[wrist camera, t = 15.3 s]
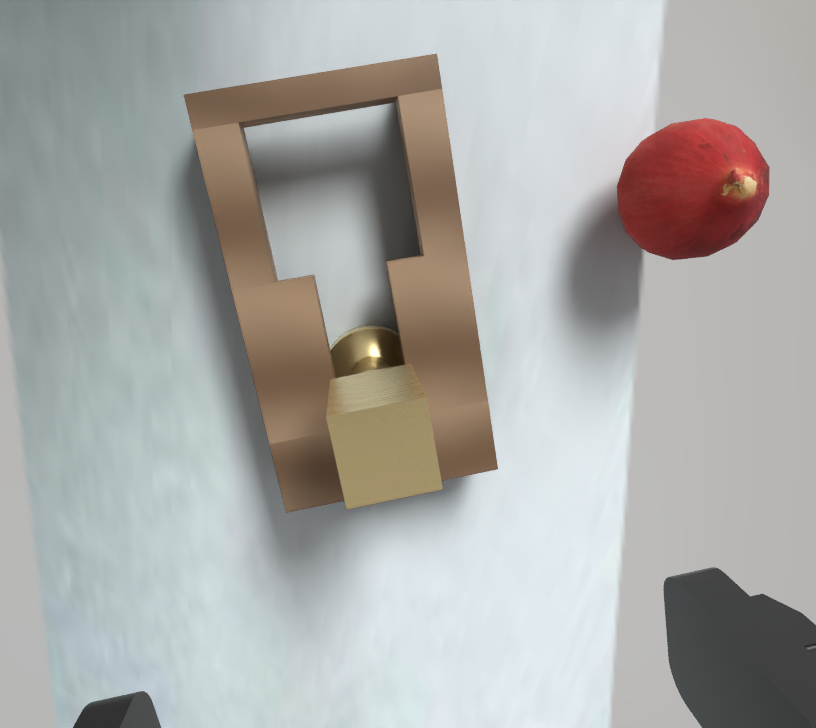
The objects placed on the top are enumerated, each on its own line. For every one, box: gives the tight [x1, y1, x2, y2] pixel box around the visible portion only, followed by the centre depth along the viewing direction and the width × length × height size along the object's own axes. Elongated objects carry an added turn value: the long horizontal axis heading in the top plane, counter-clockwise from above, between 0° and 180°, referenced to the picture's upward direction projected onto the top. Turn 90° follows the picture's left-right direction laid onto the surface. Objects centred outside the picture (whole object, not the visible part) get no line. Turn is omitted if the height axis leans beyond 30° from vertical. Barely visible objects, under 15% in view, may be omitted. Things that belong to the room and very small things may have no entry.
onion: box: [617, 118, 769, 260], centre depth 25 cm, size 6×6×8 cm
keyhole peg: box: [326, 325, 443, 509], centre depth 24 cm, size 5×5×11 cm
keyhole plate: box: [184, 54, 498, 513], centre depth 27 cm, size 18×10×4 cm, turn 10°
